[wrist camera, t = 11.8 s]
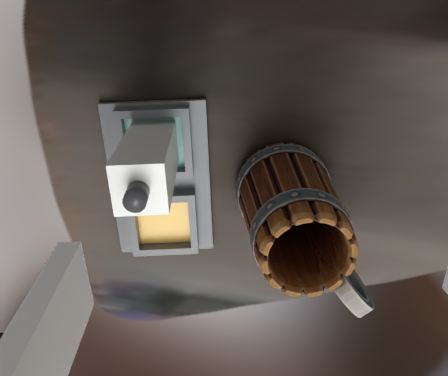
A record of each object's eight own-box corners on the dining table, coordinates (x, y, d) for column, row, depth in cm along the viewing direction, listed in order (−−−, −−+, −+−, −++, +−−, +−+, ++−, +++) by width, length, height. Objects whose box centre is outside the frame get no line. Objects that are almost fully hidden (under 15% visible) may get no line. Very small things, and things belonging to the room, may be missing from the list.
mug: (215, 181, 47) (218, 257, 33) (288, 120, 44) (323, 176, 31) (298, 263, 52) (330, 358, 39) (368, 213, 49) (429, 296, 36)
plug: (131, 122, 43) (99, 176, 30) (175, 120, 43) (161, 173, 30) (138, 169, 45) (110, 237, 32) (179, 167, 45) (167, 235, 32)
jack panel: (99, 102, 43) (93, 108, 40) (205, 98, 43) (205, 103, 41) (123, 248, 50) (119, 259, 48) (213, 244, 50) (213, 255, 48)
